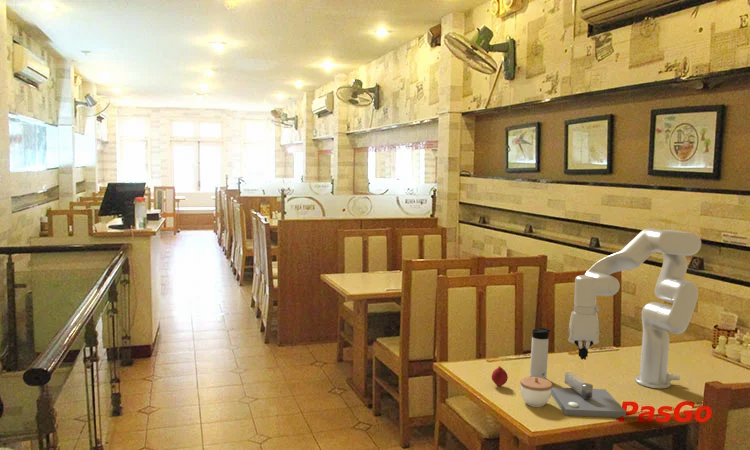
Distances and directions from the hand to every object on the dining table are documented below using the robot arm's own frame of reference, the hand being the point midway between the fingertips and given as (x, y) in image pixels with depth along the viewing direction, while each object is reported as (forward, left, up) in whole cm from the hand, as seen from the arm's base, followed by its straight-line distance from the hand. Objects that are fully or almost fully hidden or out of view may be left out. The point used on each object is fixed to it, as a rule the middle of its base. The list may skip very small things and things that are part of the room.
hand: (582, 358), depth 224 cm
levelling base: (+2, +11, -13) cm, 17 cm away
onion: (+30, -3, -13) cm, 32 cm away
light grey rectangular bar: (+3, +6, -11) cm, 13 cm away
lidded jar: (+20, +12, -13) cm, 27 cm away
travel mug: (+13, -13, -13) cm, 22 cm away
